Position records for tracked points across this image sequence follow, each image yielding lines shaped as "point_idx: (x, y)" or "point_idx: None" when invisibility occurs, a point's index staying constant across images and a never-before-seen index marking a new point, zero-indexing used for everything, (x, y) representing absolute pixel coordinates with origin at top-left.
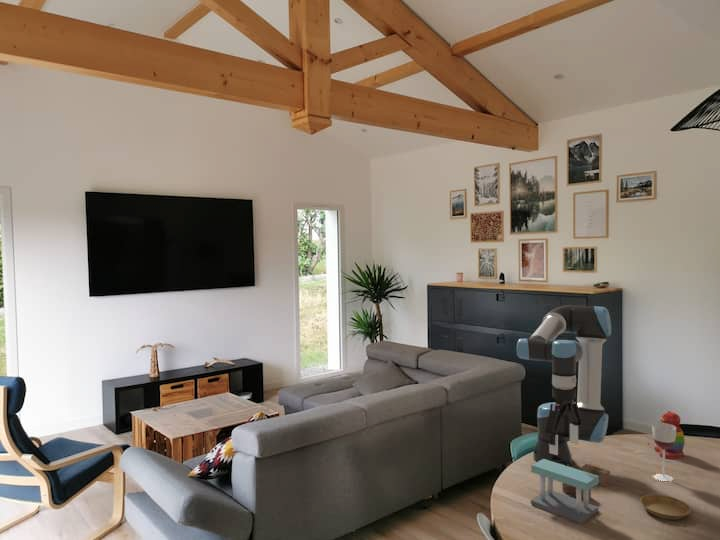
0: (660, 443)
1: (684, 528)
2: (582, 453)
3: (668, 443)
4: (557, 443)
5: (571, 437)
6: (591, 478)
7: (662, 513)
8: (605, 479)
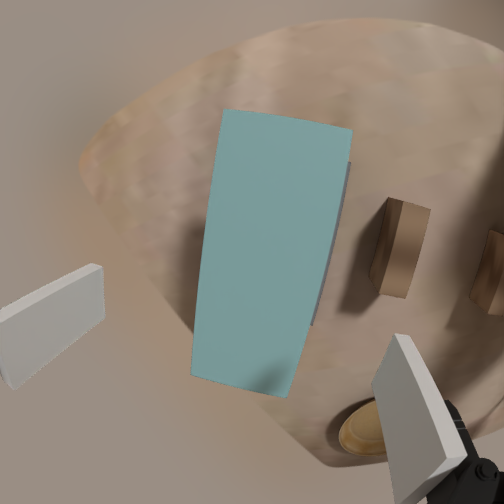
0: None
1: (324, 446)
2: None
3: None
4: (50, 353)
5: (399, 374)
6: (244, 382)
7: (370, 419)
8: (479, 304)
